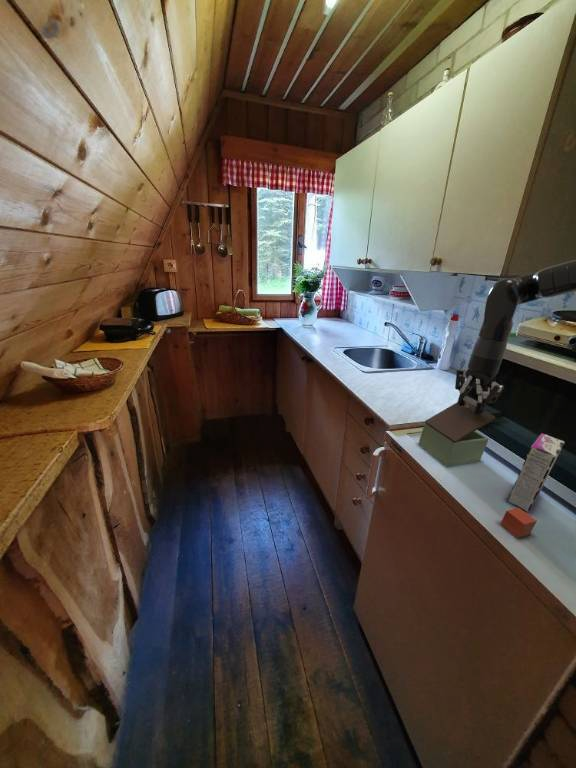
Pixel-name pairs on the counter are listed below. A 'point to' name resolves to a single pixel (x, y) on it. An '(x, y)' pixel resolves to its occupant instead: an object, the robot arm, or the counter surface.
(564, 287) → the robot arm
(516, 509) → the block
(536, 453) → the candy bar box
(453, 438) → the lid
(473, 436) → the lidded olive box
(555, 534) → the counter surface
